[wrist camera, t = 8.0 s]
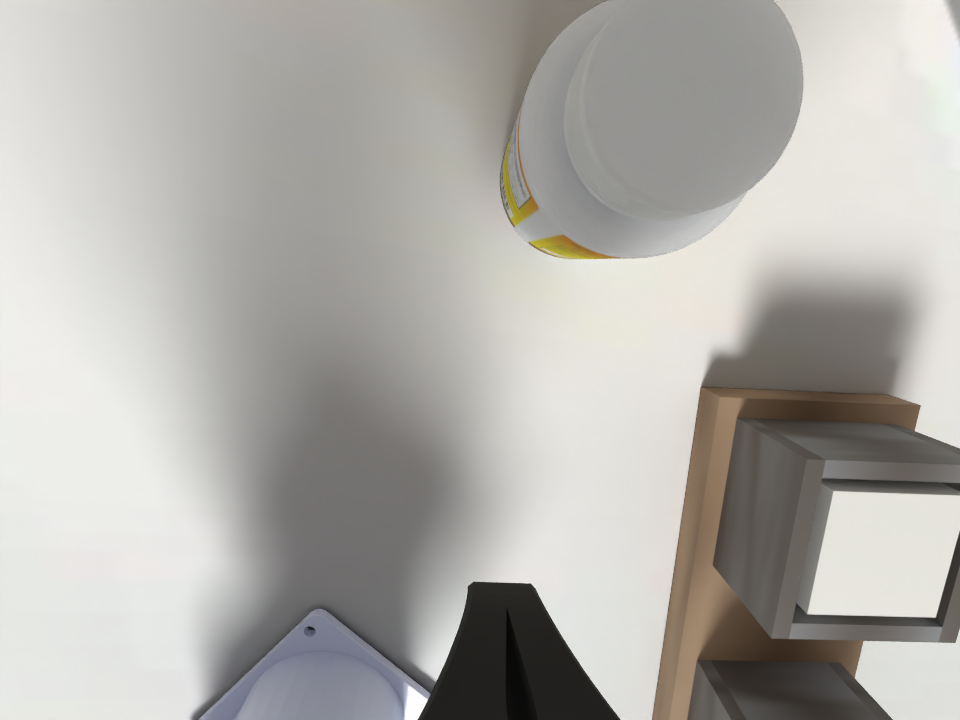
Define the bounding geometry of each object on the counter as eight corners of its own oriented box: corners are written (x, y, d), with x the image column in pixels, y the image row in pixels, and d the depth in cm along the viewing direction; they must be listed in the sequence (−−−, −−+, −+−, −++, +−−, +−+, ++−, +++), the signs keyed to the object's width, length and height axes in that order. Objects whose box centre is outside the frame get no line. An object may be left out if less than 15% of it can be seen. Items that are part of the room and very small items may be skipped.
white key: (762, 567, 19) (807, 614, 16) (782, 458, 18) (833, 490, 15) (874, 570, 19) (935, 617, 16) (900, 463, 18) (968, 495, 15)
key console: (646, 759, 24) (698, 903, 19) (701, 386, 20) (786, 433, 15) (804, 762, 24) (899, 904, 19) (888, 394, 21) (1037, 443, 15)
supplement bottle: (672, 197, 19) (910, 127, 9) (555, 288, 19) (652, 320, 9) (588, 70, 18) (746, -173, 8) (467, 169, 18) (470, 63, 8)
